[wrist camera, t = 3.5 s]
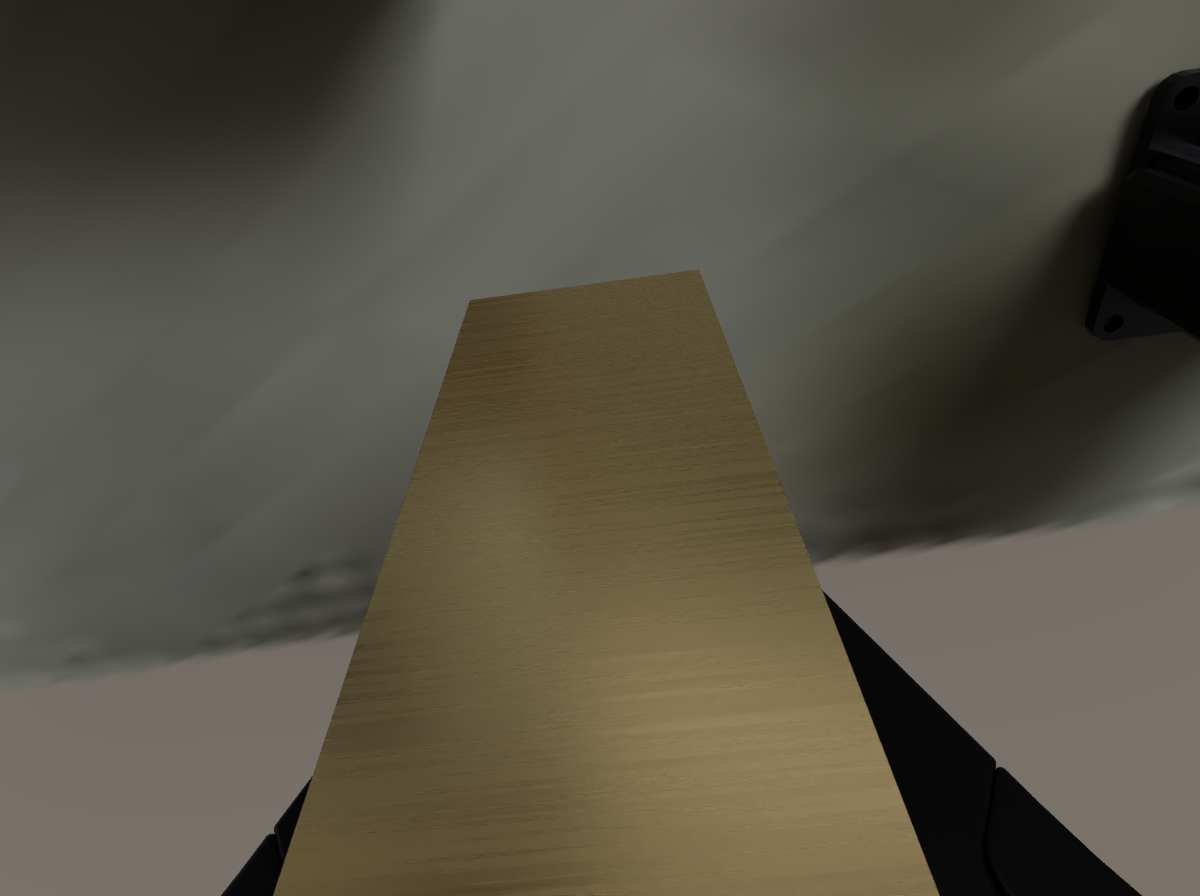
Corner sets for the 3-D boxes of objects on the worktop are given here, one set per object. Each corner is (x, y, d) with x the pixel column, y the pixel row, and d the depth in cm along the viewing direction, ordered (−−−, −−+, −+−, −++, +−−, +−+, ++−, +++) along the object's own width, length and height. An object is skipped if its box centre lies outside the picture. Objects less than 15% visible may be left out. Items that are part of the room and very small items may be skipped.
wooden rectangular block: (698, 269, 8) (965, 960, 2) (717, 625, 11) (842, 1234, 6) (469, 300, 8) (234, 1017, 2) (557, 642, 11) (537, 1249, 6)
